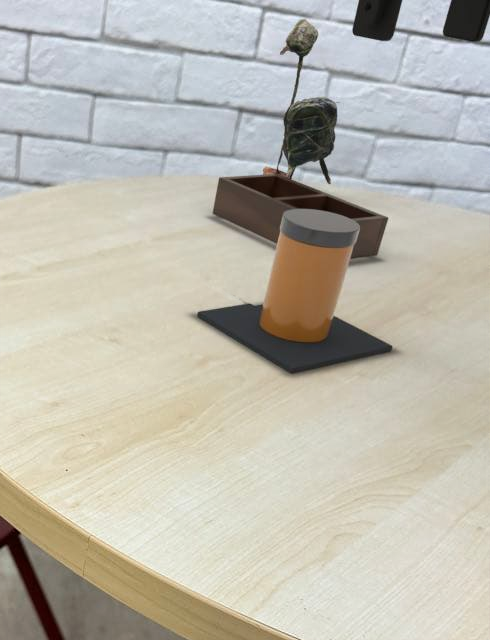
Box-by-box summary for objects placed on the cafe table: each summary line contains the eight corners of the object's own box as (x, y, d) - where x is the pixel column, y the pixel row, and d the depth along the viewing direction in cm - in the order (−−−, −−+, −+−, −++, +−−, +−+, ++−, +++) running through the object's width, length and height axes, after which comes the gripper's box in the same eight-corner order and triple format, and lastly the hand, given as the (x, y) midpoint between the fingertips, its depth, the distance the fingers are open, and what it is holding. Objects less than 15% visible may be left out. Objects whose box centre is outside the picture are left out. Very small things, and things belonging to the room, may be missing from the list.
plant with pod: (321, 209, 109) (368, 29, 97) (235, 193, 111) (270, 15, 99) (328, 195, 115) (373, 24, 103) (246, 180, 117) (281, 11, 105)
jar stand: (268, 212, 105) (276, 173, 102) (376, 260, 94) (388, 217, 91) (211, 218, 100) (218, 177, 98) (317, 268, 89) (329, 223, 86)
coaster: (294, 300, 81) (295, 295, 80) (391, 351, 73) (393, 346, 73) (196, 316, 75) (197, 311, 74) (290, 373, 67) (292, 368, 67)
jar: (294, 310, 77) (320, 206, 72) (344, 337, 73) (376, 229, 68) (243, 319, 74) (267, 211, 69) (292, 347, 70) (322, 235, 65)
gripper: (468, -335, 44) (375, 46, 54) (646, -274, 52) (536, 47, 62) (359, -317, 48) (293, 29, 59) (537, -264, 57) (451, 32, 67)
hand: (417, 38), depth 60 cm, fingers open, 9 cm apart
